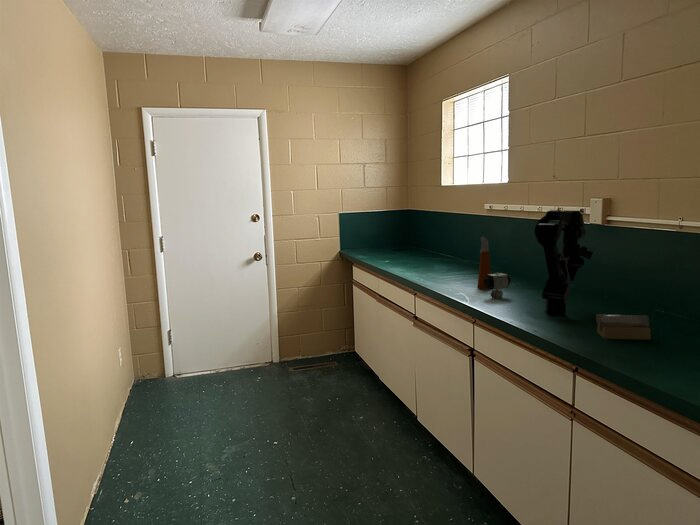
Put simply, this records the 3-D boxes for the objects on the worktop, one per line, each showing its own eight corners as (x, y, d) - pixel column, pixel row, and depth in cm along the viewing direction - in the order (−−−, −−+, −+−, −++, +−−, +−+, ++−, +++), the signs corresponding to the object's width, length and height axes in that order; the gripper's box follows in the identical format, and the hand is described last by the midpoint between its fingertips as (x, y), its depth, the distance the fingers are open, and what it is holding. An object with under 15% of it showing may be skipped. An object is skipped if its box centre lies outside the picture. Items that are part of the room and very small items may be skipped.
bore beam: (605, 329, 168) (606, 321, 167) (595, 321, 177) (596, 313, 177) (630, 330, 166) (630, 321, 166) (619, 322, 176) (619, 314, 176)
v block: (604, 338, 158) (604, 328, 158) (596, 332, 165) (597, 322, 164) (650, 339, 156) (651, 329, 155) (641, 333, 163) (641, 323, 162)
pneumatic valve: (482, 298, 220) (483, 272, 218) (503, 295, 224) (504, 270, 222) (490, 300, 215) (490, 274, 213) (511, 298, 219) (512, 272, 217)
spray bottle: (472, 290, 237) (473, 237, 233) (479, 286, 246) (480, 235, 242) (486, 291, 233) (487, 237, 229) (493, 287, 242) (494, 235, 238)
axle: (603, 328, 159) (603, 316, 159) (599, 325, 163) (599, 313, 162) (649, 328, 157) (649, 316, 156) (643, 325, 161) (644, 314, 160)
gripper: (599, 243, 185) (597, 283, 187) (583, 238, 203) (582, 274, 206) (568, 244, 187) (567, 283, 189) (556, 239, 205) (554, 274, 207)
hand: (568, 278), depth 198 cm, fingers open, 9 cm apart
